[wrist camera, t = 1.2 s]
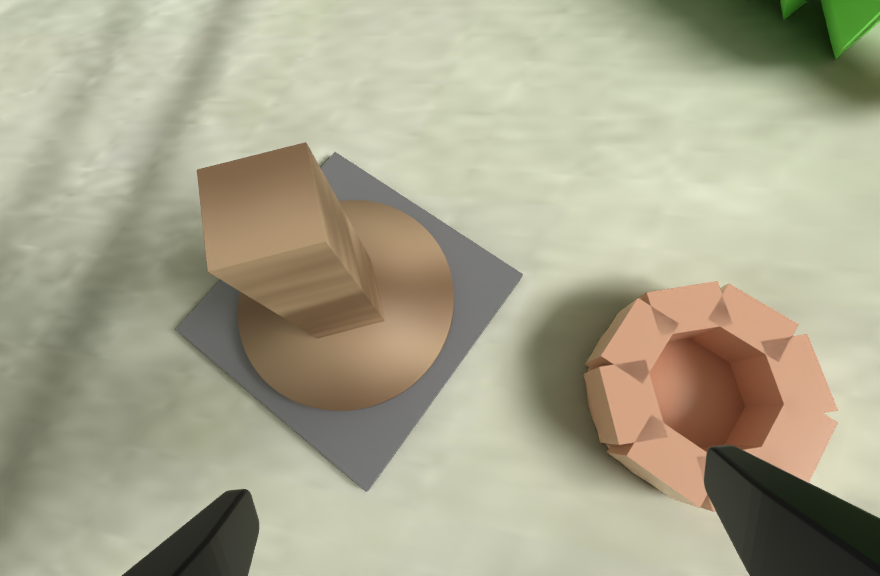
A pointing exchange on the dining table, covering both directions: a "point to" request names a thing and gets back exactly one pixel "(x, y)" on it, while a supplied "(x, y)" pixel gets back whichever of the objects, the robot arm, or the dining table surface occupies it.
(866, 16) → the decorative tree
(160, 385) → the dining table surface
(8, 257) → the dining table surface
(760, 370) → the terracotta bowl
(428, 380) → the rubber mat
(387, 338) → the walnut lid
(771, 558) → the robot arm
